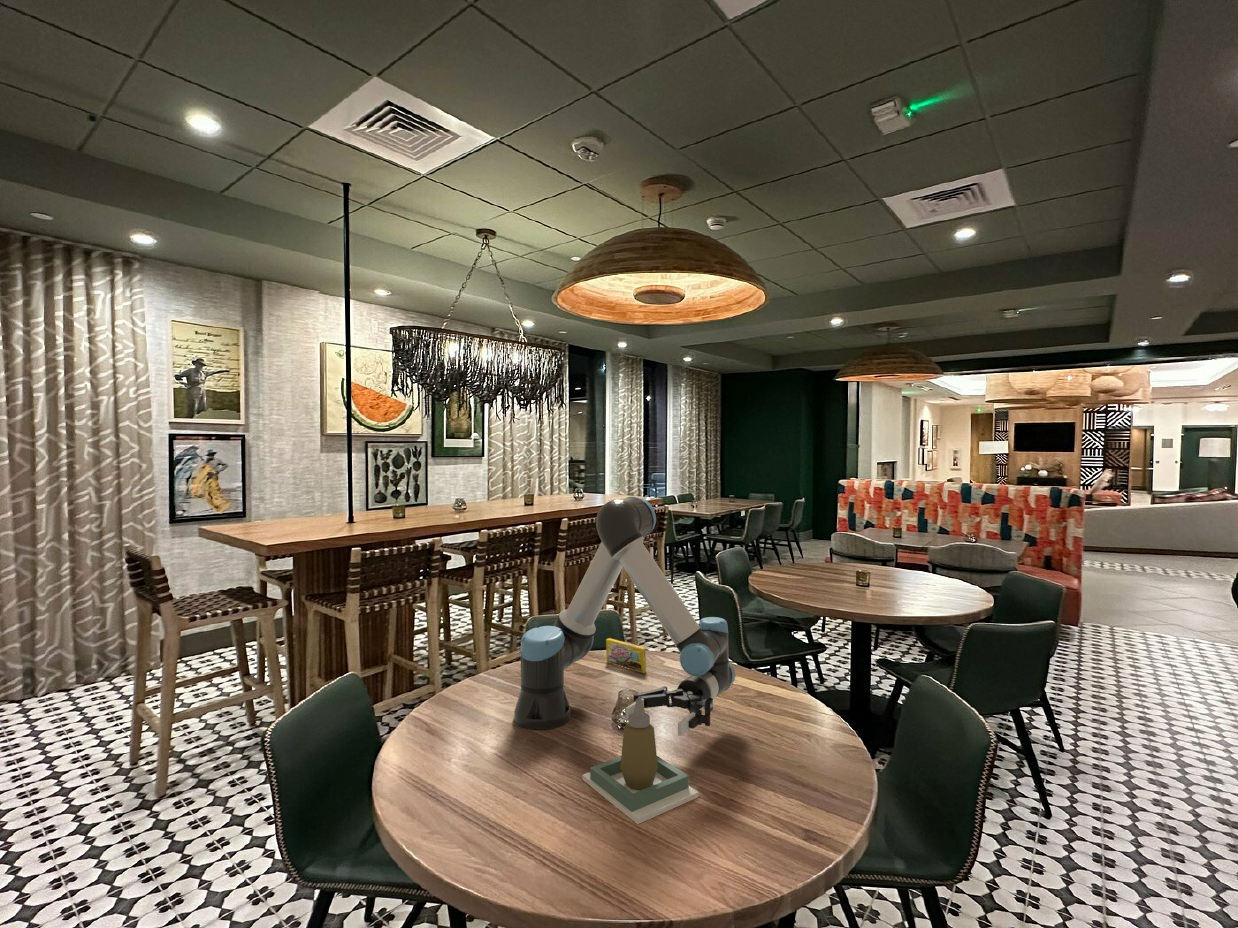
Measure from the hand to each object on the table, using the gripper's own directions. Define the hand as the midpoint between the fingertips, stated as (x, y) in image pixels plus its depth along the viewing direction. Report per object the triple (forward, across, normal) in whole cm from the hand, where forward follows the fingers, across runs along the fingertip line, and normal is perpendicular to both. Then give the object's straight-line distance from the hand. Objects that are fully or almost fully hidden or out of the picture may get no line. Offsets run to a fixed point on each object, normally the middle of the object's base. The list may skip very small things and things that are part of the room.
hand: (652, 721), depth 132 cm
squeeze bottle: (+5, 0, -12) cm, 13 cm away
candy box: (-55, +45, -13) cm, 72 cm away
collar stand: (+5, 0, -12) cm, 13 cm away
